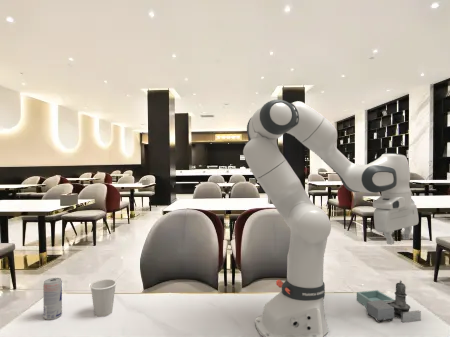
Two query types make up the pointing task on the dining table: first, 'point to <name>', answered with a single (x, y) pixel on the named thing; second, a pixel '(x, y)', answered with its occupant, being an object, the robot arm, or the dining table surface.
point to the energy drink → (52, 298)
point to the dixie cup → (103, 296)
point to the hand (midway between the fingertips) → (398, 241)
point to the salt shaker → (400, 300)
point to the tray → (372, 297)
